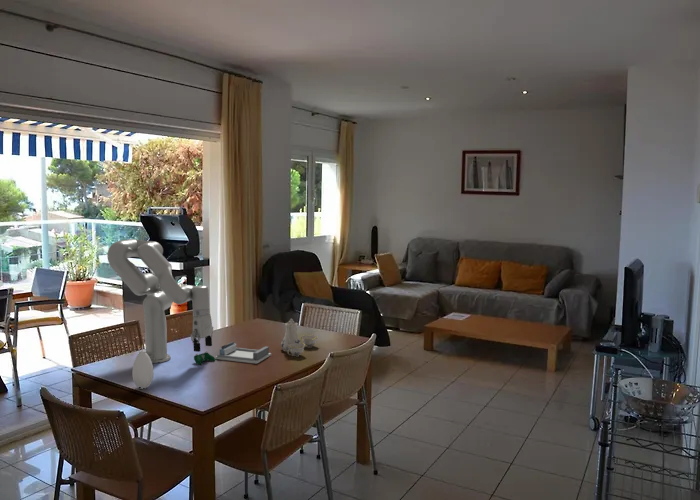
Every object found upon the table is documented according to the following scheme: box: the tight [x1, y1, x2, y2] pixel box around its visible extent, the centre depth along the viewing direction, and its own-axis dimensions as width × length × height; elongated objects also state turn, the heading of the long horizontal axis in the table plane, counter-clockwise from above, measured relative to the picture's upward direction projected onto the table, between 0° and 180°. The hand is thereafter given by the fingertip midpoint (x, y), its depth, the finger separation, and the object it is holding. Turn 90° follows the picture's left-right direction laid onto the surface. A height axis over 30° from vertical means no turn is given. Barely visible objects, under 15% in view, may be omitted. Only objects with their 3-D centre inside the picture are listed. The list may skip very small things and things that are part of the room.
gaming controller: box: [193, 351, 216, 366], centre depth 261 cm, size 9×4×6 cm
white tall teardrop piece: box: [131, 343, 155, 389], centre depth 223 cm, size 8×8×18 cm
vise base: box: [214, 345, 272, 365], centre depth 269 cm, size 15×22×4 cm
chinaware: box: [280, 318, 319, 357], centre depth 282 cm, size 28×17×17 cm, turn 168°
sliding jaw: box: [218, 340, 237, 355], centre depth 272 cm, size 12×2×4 cm, turn 162°
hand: (203, 348), depth 261 cm, fingers open, 9 cm apart
